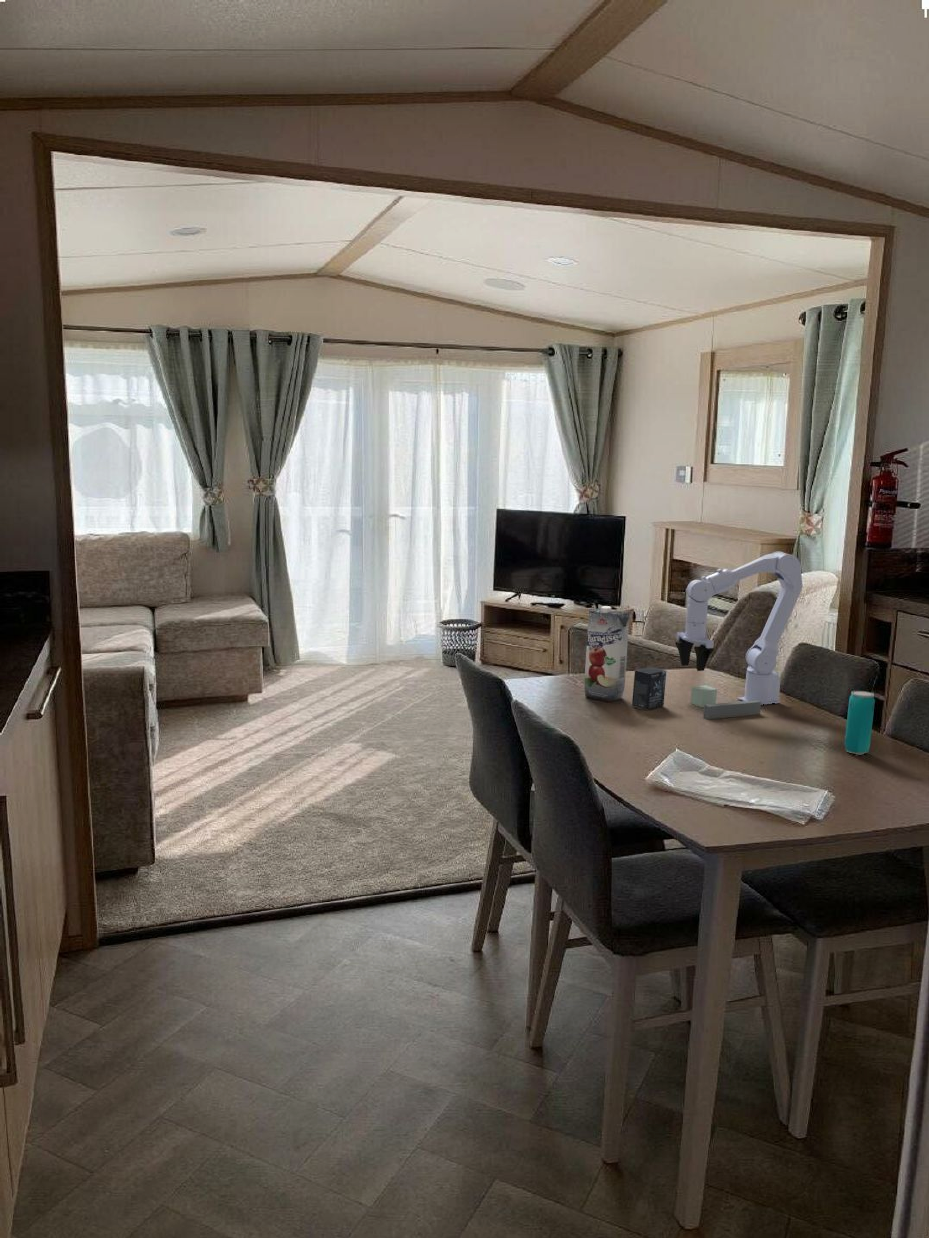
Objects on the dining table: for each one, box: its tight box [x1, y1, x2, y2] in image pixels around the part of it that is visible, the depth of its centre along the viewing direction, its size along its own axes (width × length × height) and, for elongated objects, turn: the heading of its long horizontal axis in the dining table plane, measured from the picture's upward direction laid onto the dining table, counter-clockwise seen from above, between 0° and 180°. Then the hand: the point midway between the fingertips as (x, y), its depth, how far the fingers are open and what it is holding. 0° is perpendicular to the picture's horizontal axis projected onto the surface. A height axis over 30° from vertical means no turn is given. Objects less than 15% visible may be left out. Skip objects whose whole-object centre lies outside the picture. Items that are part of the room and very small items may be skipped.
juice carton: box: [584, 605, 630, 703], centre depth 284 cm, size 9×10×27 cm
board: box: [702, 700, 762, 720], centre depth 272 cm, size 18×2×4 cm, turn 115°
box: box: [631, 666, 667, 711], centre depth 278 cm, size 8×6×11 cm
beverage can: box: [844, 690, 876, 754], centre depth 240 cm, size 6×6×15 cm
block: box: [690, 684, 718, 708], centre depth 283 cm, size 5×5×5 cm
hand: (692, 667), depth 287 cm, fingers open, 7 cm apart
